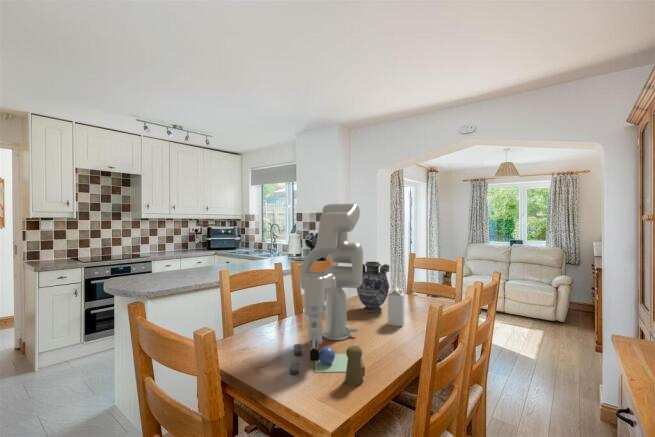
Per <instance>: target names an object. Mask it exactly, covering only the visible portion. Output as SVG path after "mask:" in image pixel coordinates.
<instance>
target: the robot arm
mask: <svg viewBox="0 0 655 437" xmlns="http://www.w3.org/2000/svg"><path fill="white" fill-rule="evenodd" d="M321 212H322V215H321V216H320V218H319V224H318V230H317V237H316V243H315V244H316V245H315V247H313V249H311V250H310V252H309V253H308V254H307V255H306V256H305V258H304V259H303V262H302V264H301V270H300V273H299V274H300V275H299V285H300V288H301V289H302V290H304V291H303V292H304V293H303V294H304V296H303V299H304V300H303V301H304V303H303V305H304V307H303V308H304V309H303V310H304V311H303V313H304V315H305V316H307V341H308V344H309V345H310V348H309V361H311V362H315V361H319V352H320V350H319V349H320V348H319V344H320V345H322V344H323V338H324V339H327V340H329V341H330V340H331V341H343V340H348V339H349V338H350V337H351V333H358V327H355V326H350V325H348V305H347V304H348V300H347V299H348V297H347V294H346V292H345V290H344V288H346V289H347V288H348V289H357V288H359V287H360V286H361V284H362V275H363V264H364V251H363V247H362V245H361V244H360V243H359V242H349V241H348V236H349V234H348V233H350V232H352V231H354V229H355V227H356V225H357V223H358V221H359V218H360V217H361V216H360V215H361V210H360V207H359V205H358V204H356V203H330V204H329V203H328V204H326V205H324V206H322V211H321ZM325 256H328V259H329V261H330V262H331V263H335V264H351V266H346V265H345V266H344V265H330V266H328V267H326V268H325V269H324V272H322V271H311V269H312V266H313V265H314V264H315V262H316V261H319V259H321V258H323V257H325ZM324 315H325V329H324V330H323V316H324Z"/></svg>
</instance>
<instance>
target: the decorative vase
mask: <svg viewBox="0 0 655 437" xmlns="http://www.w3.org/2000/svg"><path fill="white" fill-rule="evenodd" d="M390 268H391V267H390V265H389V264H387V263H384V264H381V262H379V261H366V263H363V275H362V284H361V286H360V287H359V288H356V293H357V296H358V298H359V300H360V302H361V303H362V305H364V307H363V311H364V312H366V311H367V312H366V313H371V312H372V314H373V313H374V314H376V313H375V312H378V313H380V312H382V311H383V309H382V308H381V307H380V306H382V305H383V304H384V303H385V301H386V300H387V298H388V295H389V290H390V283H389V280H388V276H387V273H390Z"/></svg>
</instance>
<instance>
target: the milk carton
mask: <svg viewBox="0 0 655 437" xmlns="http://www.w3.org/2000/svg"><path fill="white" fill-rule="evenodd" d="M404 324H405V293H404V291H403V289H402V288H400V287H398V285H395V287H394V289H392V290H391V291H390V292H388V295H387V325H388V326H395V327H404Z"/></svg>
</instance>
